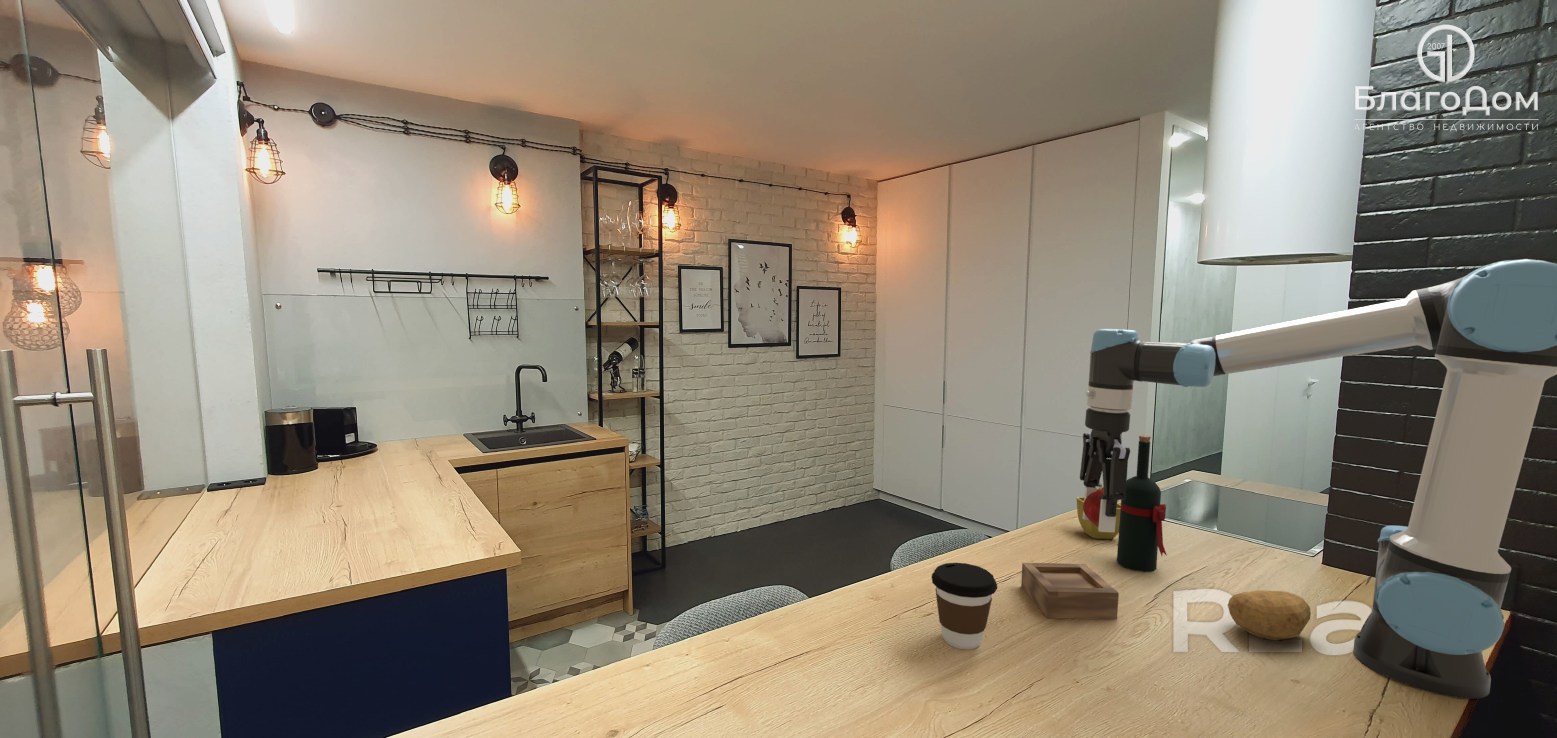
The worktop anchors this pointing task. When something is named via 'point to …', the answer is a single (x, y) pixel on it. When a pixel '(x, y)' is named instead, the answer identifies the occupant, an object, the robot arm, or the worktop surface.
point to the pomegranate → (1093, 506)
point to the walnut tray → (1069, 591)
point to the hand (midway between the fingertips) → (1098, 524)
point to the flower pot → (1093, 529)
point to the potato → (1270, 613)
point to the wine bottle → (1141, 518)
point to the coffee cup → (963, 602)
